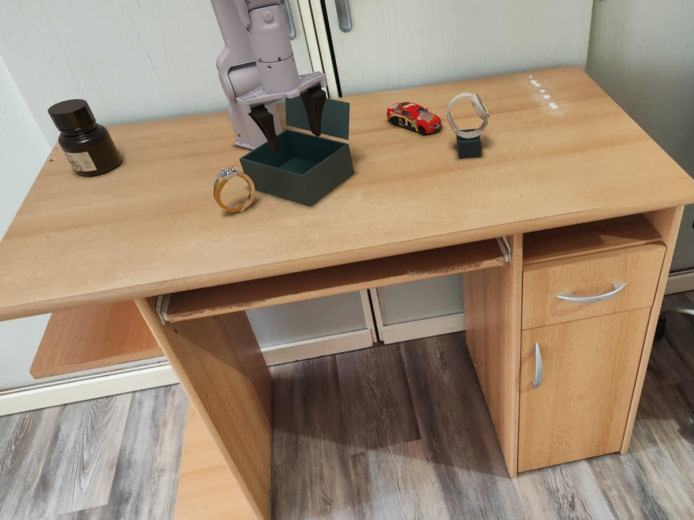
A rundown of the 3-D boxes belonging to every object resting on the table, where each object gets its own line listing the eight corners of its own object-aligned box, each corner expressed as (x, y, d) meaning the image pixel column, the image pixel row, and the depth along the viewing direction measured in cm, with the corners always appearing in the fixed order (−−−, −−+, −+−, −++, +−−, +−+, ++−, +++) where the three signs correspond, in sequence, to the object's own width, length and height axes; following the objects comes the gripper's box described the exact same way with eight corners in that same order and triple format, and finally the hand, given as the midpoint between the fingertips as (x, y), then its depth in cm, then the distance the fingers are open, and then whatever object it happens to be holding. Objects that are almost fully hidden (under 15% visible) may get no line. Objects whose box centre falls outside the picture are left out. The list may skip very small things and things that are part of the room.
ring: (256, 199, 104) (242, 158, 98) (263, 207, 102) (249, 165, 96) (218, 214, 101) (202, 172, 95) (225, 221, 99) (209, 179, 93)
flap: (285, 125, 110) (287, 125, 110) (347, 140, 104) (348, 139, 104) (285, 89, 107) (286, 89, 107) (348, 102, 101) (350, 102, 101)
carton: (294, 157, 114) (286, 128, 110) (354, 173, 109) (348, 143, 105) (249, 188, 107) (238, 158, 103) (311, 206, 101) (302, 176, 97)
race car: (447, 128, 120) (446, 109, 117) (429, 138, 117) (428, 119, 115) (401, 113, 126) (399, 94, 124) (384, 122, 124) (381, 103, 121)
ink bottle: (67, 167, 116) (33, 107, 107) (110, 150, 120) (80, 92, 112) (87, 182, 111) (52, 121, 103) (131, 164, 115) (101, 104, 107)
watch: (491, 156, 111) (491, 98, 103) (449, 159, 111) (446, 102, 103) (488, 142, 115) (487, 86, 107) (447, 145, 115) (444, 89, 107)
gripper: (241, 76, 81) (268, 165, 91) (329, 49, 87) (346, 135, 97) (220, 64, 85) (248, 150, 95) (306, 38, 91) (324, 122, 101)
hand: (296, 142), depth 96 cm, fingers open, 7 cm apart
